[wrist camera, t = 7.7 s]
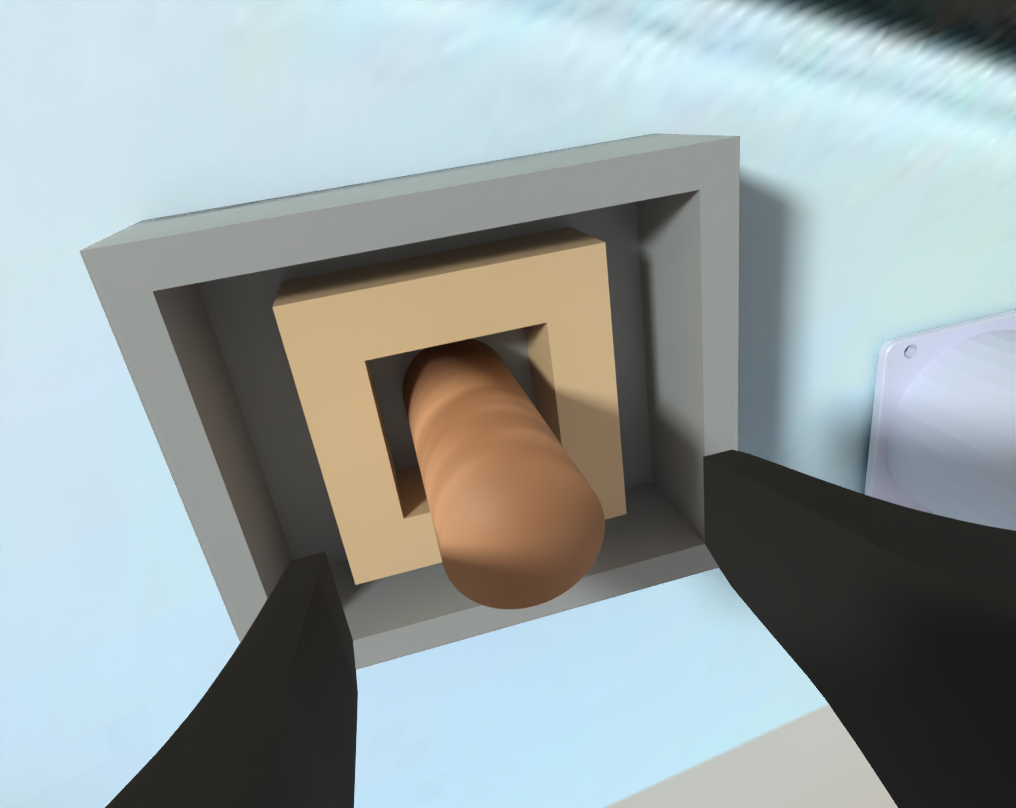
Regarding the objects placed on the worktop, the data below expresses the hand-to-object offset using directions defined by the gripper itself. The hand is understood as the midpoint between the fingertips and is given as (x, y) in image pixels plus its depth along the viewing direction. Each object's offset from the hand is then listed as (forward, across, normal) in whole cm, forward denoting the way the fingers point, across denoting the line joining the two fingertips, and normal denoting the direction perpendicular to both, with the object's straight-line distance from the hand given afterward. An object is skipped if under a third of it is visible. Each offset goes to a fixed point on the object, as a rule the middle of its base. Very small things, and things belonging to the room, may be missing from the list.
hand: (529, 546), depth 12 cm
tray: (+9, 0, 0) cm, 9 cm away
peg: (+8, 0, 0) cm, 8 cm away
